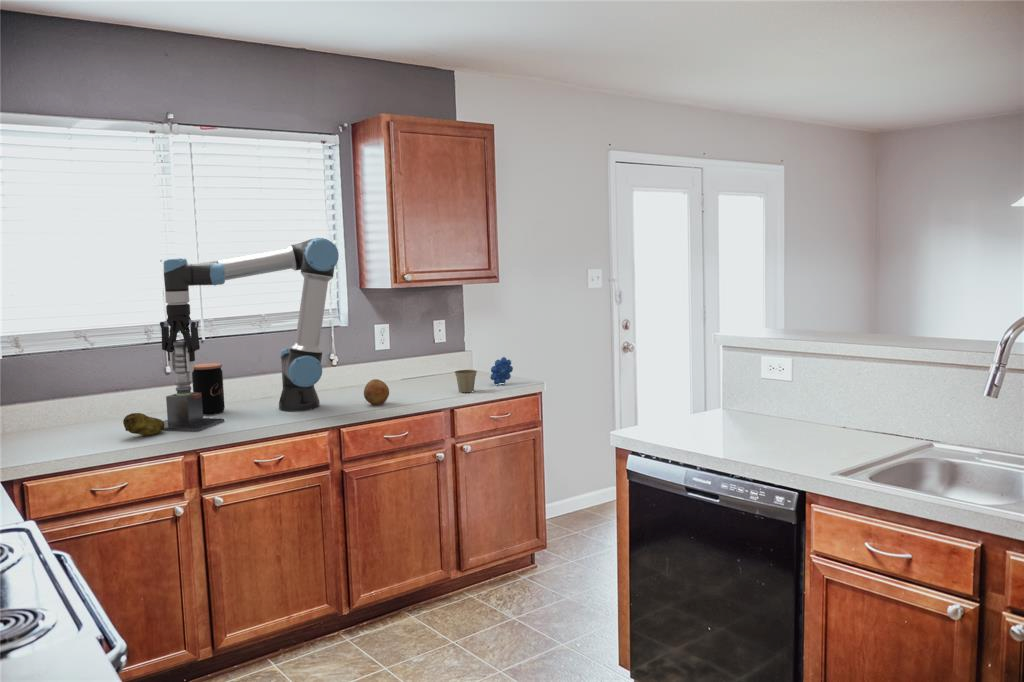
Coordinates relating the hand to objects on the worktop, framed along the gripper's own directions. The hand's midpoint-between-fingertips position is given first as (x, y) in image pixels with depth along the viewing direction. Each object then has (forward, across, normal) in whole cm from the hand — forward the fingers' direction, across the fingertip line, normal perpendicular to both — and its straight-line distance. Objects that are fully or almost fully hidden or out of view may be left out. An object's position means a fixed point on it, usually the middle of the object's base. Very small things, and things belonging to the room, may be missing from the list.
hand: (182, 370), depth 279 cm
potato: (+20, +4, +16) cm, 25 cm away
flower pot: (+20, -80, -75) cm, 111 cm away
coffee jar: (+20, +5, -22) cm, 30 cm away
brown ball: (+20, -53, -44) cm, 72 cm away
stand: (+19, 0, 0) cm, 19 cm away
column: (+12, 0, 0) cm, 12 cm away
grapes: (+20, -90, -95) cm, 132 cm away
